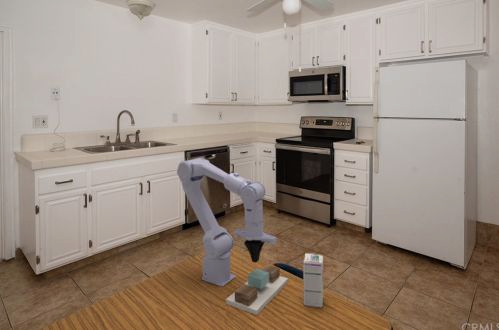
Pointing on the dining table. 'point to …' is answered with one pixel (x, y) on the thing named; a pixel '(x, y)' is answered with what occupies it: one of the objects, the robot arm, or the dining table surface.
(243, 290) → the brown ledged cube
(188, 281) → the dining table surface
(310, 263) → the syrup box
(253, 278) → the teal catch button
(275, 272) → the far walnut button
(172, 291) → the dining table surface
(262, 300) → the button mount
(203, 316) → the dining table surface
